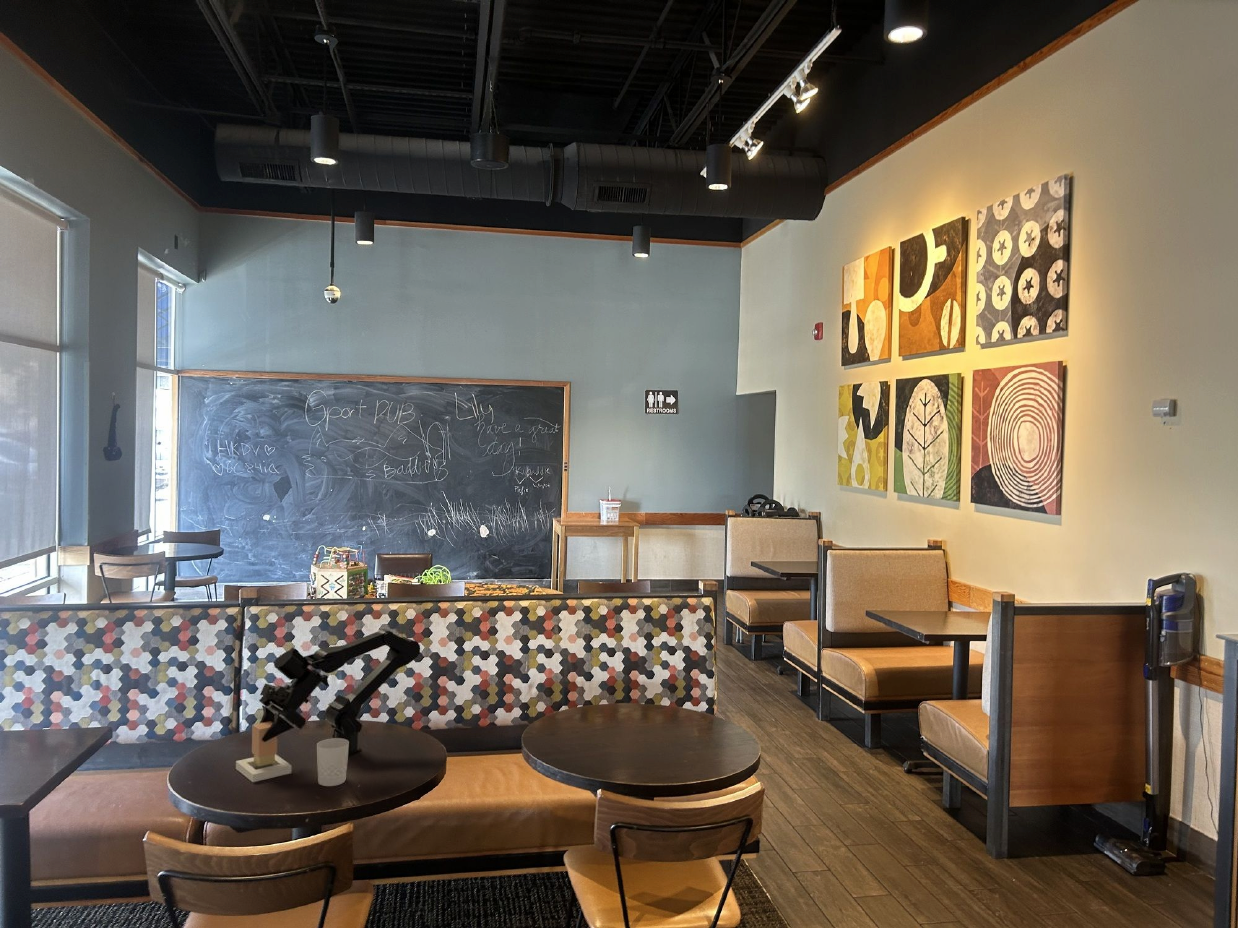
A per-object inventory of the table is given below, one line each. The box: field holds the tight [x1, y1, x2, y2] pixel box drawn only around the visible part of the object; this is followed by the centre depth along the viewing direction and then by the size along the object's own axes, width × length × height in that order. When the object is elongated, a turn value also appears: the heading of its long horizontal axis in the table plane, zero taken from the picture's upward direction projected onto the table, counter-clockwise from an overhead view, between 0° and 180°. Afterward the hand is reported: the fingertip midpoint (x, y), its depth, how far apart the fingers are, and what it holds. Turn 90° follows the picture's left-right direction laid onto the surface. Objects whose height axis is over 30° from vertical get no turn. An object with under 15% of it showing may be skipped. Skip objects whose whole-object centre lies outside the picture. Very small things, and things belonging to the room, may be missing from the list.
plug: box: [251, 721, 278, 767], centre depth 225 cm, size 5×5×10 cm
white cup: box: [316, 737, 349, 787], centre depth 220 cm, size 8×8×10 cm
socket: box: [235, 754, 292, 783], centre depth 225 cm, size 10×12×2 cm
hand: (259, 738), depth 224 cm, fingers closed on plug, 5 cm apart
